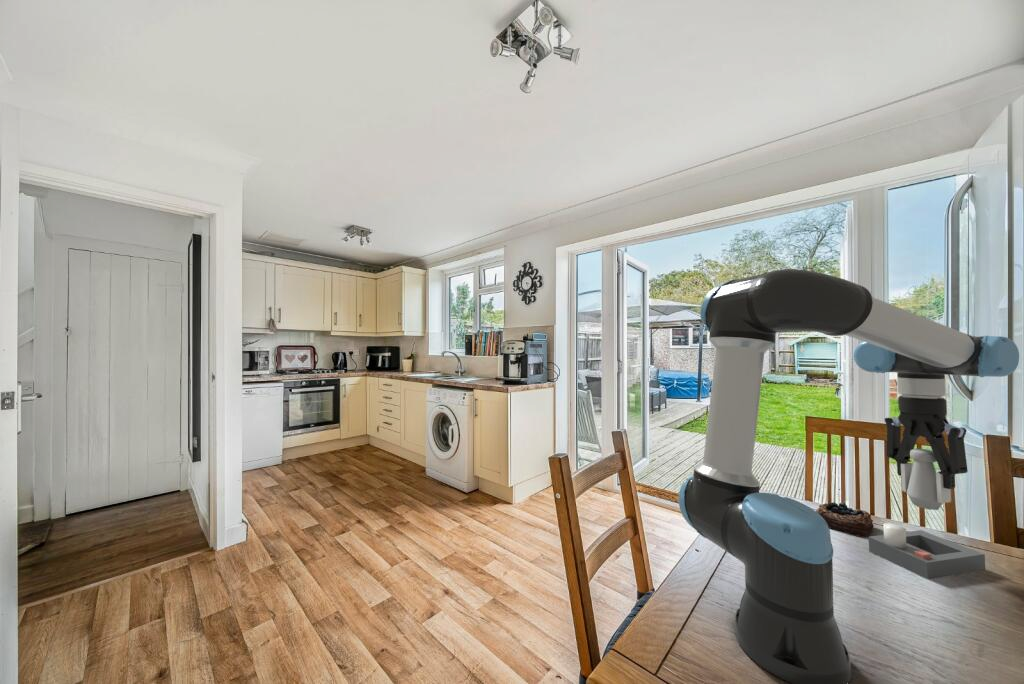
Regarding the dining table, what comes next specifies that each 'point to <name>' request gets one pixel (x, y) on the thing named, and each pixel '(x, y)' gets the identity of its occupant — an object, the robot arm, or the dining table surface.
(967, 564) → the grey rimmed tray
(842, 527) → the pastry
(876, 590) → the dining table surface
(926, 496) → the salt shaker
